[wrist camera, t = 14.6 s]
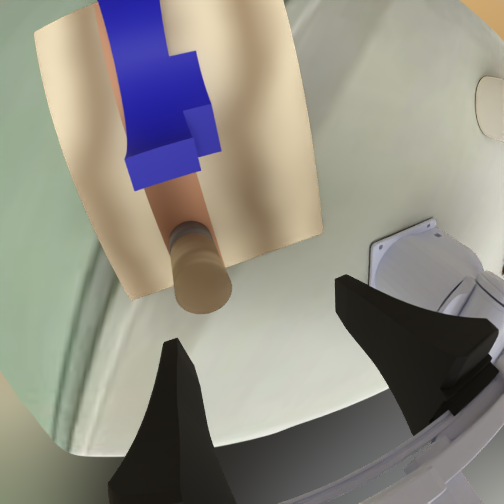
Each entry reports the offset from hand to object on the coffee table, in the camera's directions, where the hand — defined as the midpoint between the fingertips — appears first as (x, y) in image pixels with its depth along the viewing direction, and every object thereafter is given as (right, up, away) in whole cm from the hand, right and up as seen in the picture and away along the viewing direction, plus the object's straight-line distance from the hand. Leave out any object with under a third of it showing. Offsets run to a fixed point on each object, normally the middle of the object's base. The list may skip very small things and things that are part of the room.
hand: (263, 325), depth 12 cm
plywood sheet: (-4, +11, +4) cm, 12 cm away
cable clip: (-6, +14, +2) cm, 16 cm away
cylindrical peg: (-5, +4, +8) cm, 10 cm away
